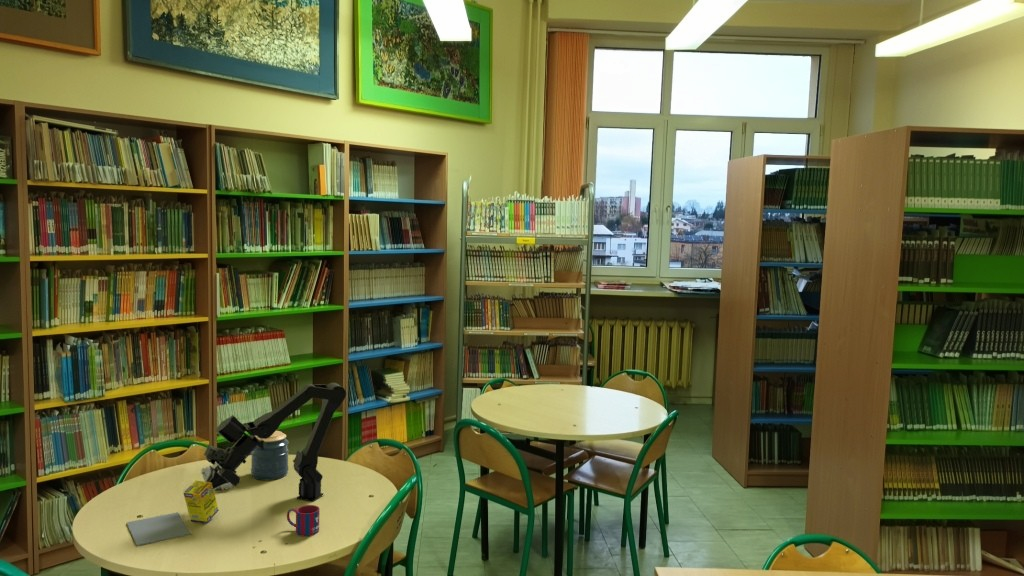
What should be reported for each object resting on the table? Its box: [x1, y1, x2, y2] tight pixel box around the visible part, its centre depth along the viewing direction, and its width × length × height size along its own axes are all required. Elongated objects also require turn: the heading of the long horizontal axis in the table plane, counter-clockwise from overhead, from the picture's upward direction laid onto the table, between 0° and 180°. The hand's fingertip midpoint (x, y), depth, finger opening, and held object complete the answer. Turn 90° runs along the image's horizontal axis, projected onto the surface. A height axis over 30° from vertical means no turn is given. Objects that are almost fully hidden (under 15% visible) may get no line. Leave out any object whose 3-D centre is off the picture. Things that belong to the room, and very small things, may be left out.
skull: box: [200, 465, 233, 492], centre depth 233 cm, size 8×9×12 cm
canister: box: [250, 430, 290, 481], centre depth 247 cm, size 13×13×18 cm
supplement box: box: [183, 480, 220, 524], centre depth 205 cm, size 6×6×11 cm
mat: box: [126, 511, 192, 547], centre depth 199 cm, size 14×18×1 cm
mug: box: [286, 504, 320, 537], centre depth 201 cm, size 7×10×7 cm
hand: (202, 492), depth 208 cm, fingers closed
